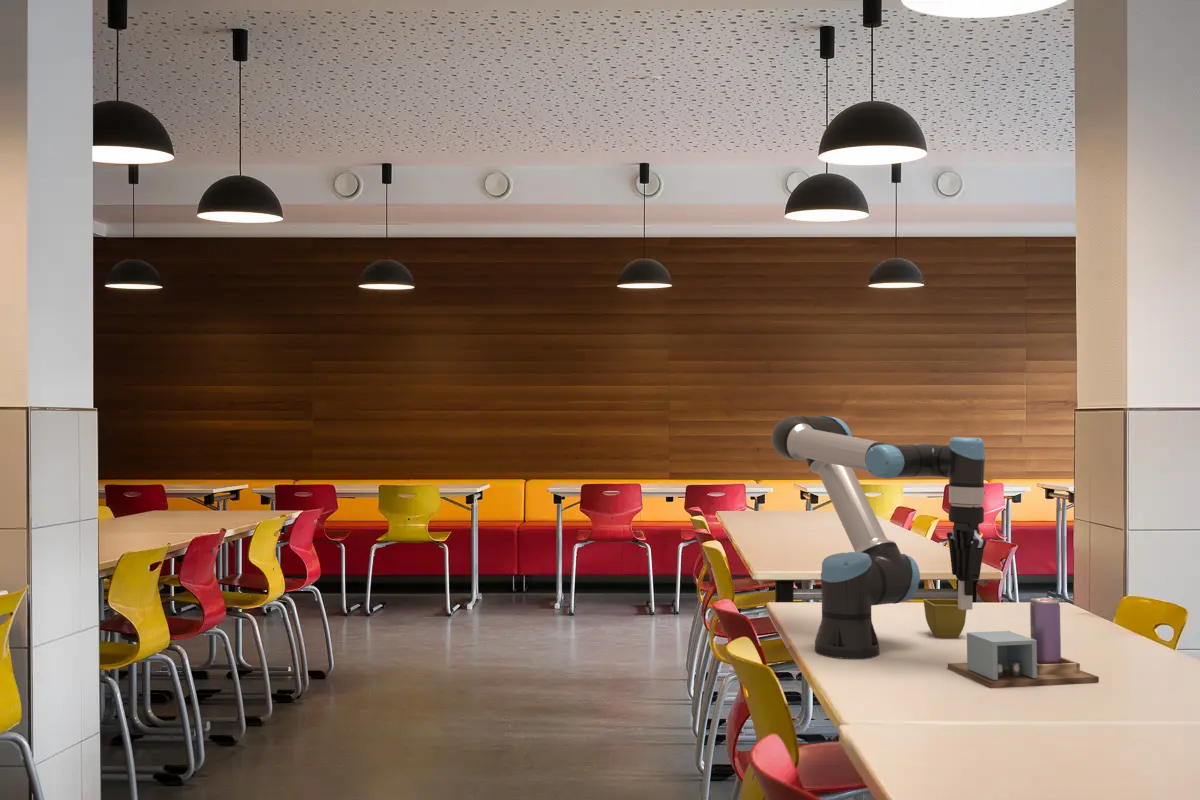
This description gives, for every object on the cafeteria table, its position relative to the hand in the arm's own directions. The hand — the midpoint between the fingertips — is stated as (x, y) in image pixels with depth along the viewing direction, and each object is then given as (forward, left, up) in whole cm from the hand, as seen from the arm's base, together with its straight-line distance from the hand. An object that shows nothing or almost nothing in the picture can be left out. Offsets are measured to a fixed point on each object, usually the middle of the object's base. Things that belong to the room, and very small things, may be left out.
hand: (965, 608), depth 224 cm
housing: (0, -14, -11) cm, 18 cm away
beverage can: (+13, -11, -12) cm, 20 cm away
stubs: (0, -16, -12) cm, 19 cm away
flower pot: (+12, +31, -13) cm, 36 cm away
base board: (+7, -11, -13) cm, 18 cm away
